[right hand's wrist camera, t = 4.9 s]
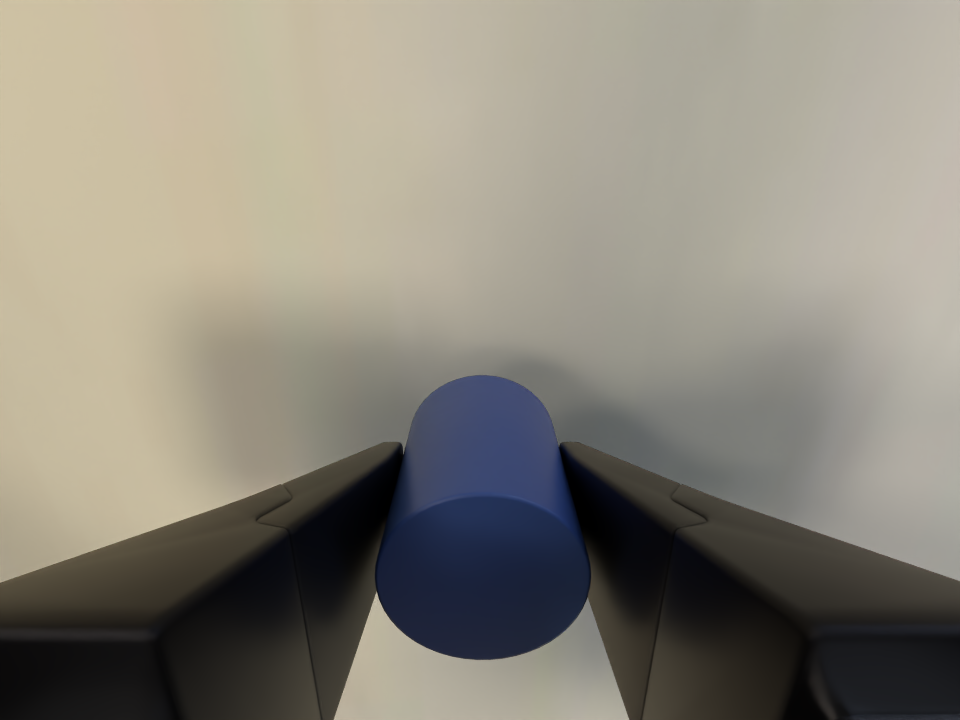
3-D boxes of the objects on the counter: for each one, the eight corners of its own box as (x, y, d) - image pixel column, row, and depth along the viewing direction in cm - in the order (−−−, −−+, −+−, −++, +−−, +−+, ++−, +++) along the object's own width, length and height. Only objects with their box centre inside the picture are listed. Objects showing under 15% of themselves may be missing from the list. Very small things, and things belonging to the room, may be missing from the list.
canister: (409, 496, 13) (375, 656, 9) (410, 370, 12) (371, 488, 7) (545, 503, 13) (577, 665, 9) (561, 378, 12) (607, 499, 8)
